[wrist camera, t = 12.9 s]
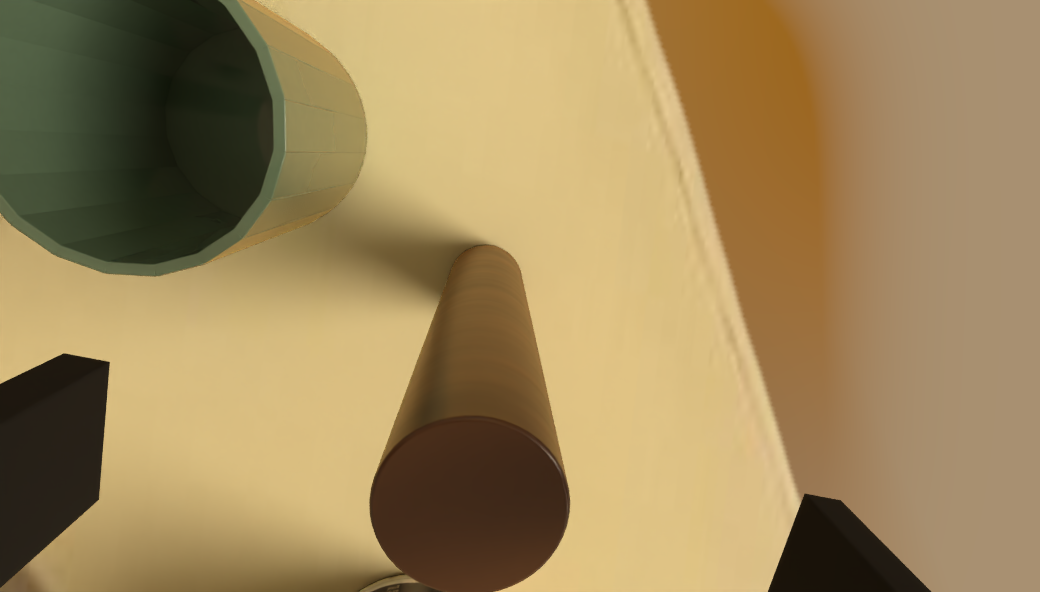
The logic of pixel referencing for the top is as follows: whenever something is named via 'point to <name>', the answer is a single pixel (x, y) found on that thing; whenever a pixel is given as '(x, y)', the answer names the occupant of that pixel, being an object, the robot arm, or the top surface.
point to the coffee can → (398, 585)
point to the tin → (168, 129)
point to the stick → (474, 442)
